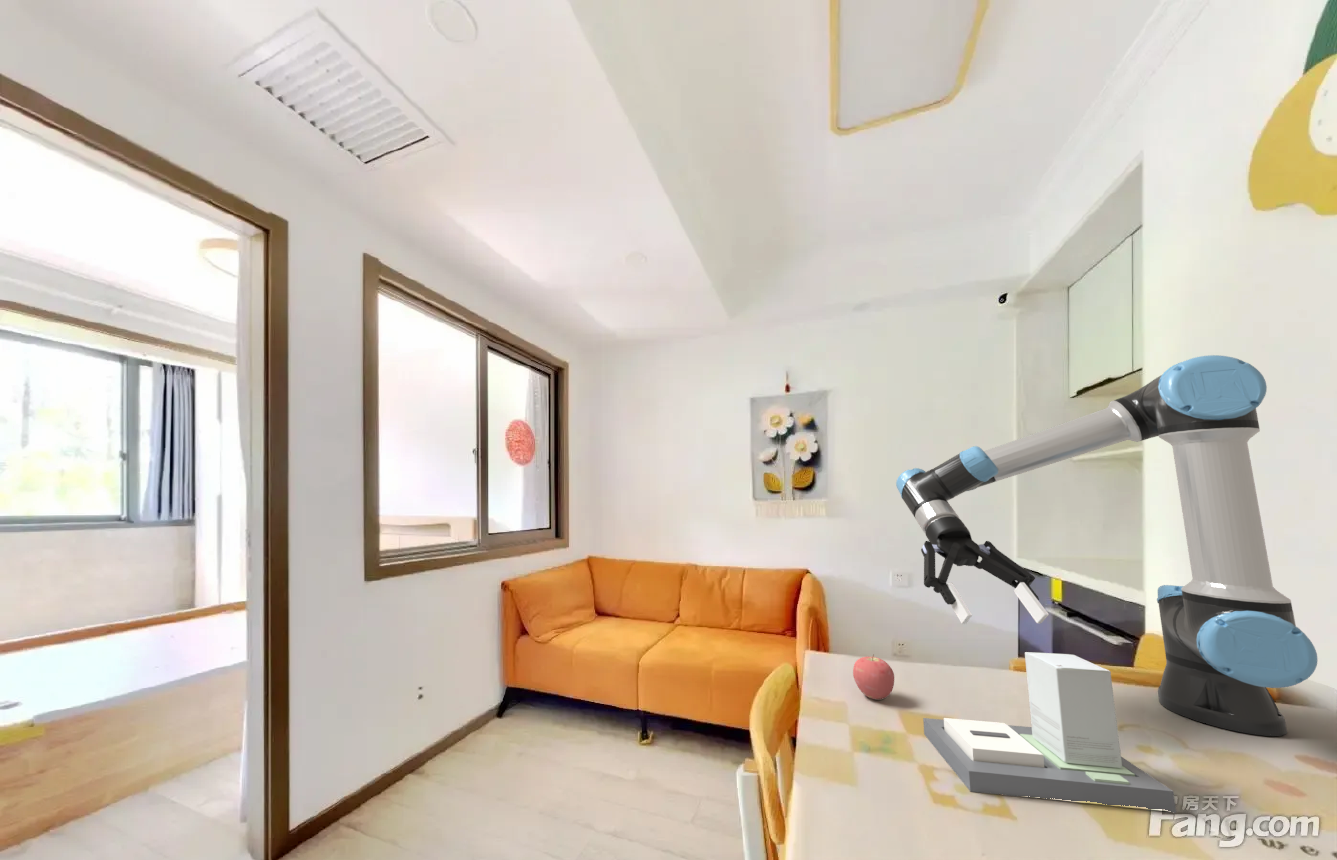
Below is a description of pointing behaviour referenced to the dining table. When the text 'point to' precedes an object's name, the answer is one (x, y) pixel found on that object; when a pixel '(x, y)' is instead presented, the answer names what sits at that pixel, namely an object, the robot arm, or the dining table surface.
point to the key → (1070, 766)
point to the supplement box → (1073, 709)
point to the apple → (873, 677)
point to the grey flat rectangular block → (1033, 767)
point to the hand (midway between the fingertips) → (1005, 619)
